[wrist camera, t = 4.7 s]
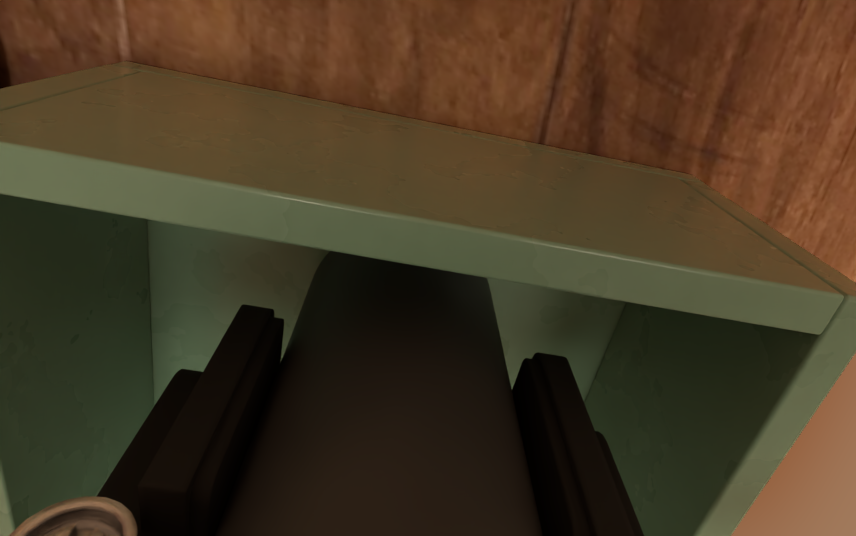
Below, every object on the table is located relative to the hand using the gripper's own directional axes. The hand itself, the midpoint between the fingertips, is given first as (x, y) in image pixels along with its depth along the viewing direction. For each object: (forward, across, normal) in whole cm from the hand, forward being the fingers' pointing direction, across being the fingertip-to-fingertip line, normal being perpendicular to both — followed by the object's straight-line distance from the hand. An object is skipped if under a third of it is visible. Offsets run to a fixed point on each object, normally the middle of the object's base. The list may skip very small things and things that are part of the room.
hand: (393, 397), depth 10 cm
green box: (+5, 0, +4) cm, 6 cm away
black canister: (+3, 0, 0) cm, 3 cm away
